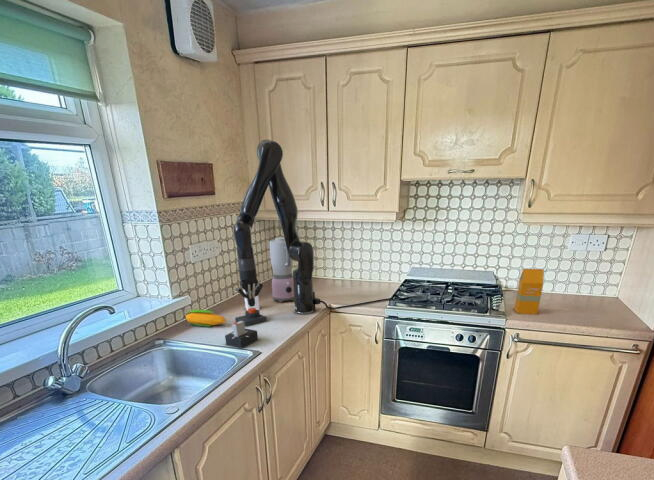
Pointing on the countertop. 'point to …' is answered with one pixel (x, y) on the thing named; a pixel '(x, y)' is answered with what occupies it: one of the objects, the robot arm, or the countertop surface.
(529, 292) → the orange juice
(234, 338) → the fryer panel
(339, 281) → the countertop surface
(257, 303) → the milk
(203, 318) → the corn
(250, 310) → the power button
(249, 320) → the button block
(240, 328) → the timer knob
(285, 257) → the blender
